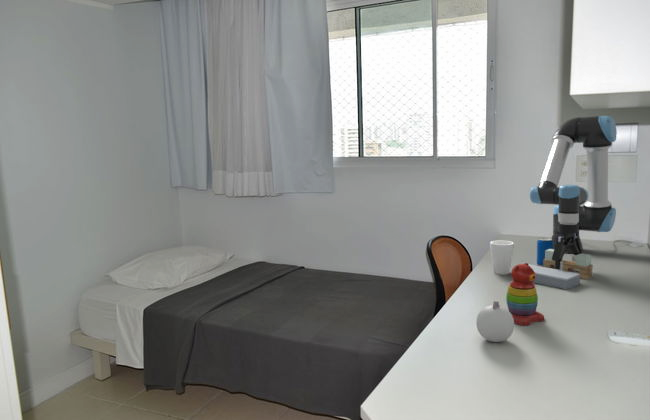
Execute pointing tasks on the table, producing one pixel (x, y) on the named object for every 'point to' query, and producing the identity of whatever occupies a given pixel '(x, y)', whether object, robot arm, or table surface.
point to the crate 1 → (549, 254)
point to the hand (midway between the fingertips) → (566, 273)
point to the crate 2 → (583, 260)
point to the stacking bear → (523, 296)
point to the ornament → (495, 323)
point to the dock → (555, 277)
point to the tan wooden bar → (571, 268)
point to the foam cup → (501, 256)
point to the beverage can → (543, 249)
